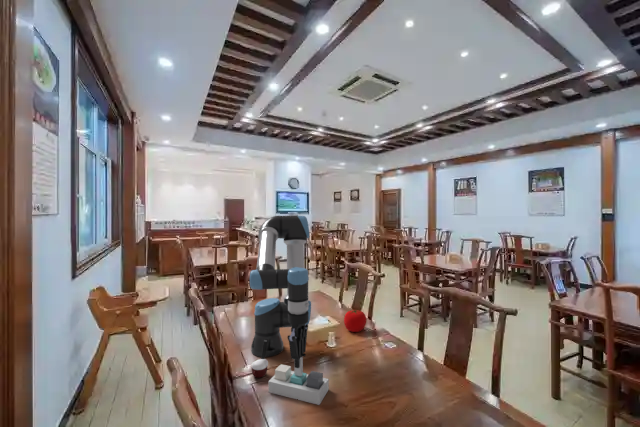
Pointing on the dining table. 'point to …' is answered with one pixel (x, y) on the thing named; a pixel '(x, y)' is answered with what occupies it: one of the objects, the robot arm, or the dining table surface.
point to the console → (298, 390)
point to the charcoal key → (315, 380)
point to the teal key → (299, 379)
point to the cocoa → (260, 364)
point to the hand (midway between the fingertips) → (298, 374)
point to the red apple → (355, 320)
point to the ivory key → (283, 372)
